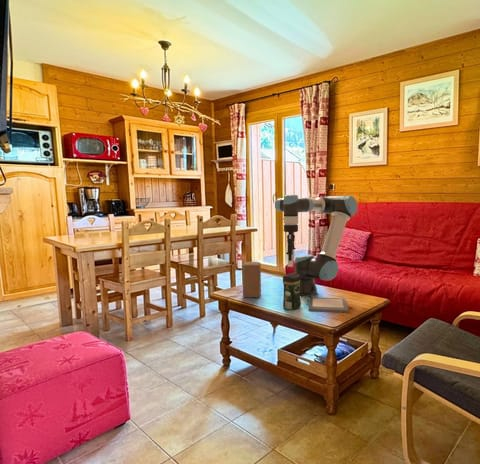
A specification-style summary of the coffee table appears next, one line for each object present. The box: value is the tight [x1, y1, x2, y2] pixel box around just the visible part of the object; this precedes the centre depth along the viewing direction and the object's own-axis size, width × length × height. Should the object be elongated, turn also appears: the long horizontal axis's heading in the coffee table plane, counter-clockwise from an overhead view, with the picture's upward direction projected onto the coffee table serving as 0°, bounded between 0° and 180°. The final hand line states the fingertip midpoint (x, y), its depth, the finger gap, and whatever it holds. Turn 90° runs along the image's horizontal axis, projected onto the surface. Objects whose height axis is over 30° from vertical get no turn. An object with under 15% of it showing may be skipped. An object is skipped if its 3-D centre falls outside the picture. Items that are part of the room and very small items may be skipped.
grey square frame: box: [308, 296, 350, 313], centre depth 190 cm, size 20×20×2 cm
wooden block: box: [241, 261, 262, 298], centre depth 211 cm, size 10×10×20 cm
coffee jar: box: [282, 272, 302, 311], centre depth 187 cm, size 10×8×19 cm
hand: (291, 264), depth 186 cm, fingers open, 13 cm apart
